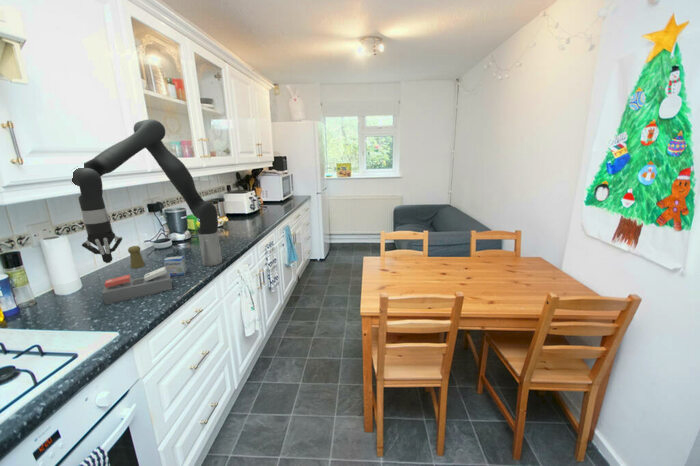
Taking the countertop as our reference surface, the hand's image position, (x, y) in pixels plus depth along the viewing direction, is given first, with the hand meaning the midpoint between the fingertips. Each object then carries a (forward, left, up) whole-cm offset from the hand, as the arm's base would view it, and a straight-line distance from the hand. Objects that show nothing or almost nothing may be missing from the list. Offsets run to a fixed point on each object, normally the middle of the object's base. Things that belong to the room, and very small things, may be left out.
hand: (108, 262), depth 117 cm
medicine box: (-22, -13, -16) cm, 30 cm away
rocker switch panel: (-8, +1, -16) cm, 18 cm away
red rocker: (-2, +1, -8) cm, 9 cm away
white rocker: (-15, +1, -8) cm, 17 cm away
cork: (-5, -36, -16) cm, 40 cm away
